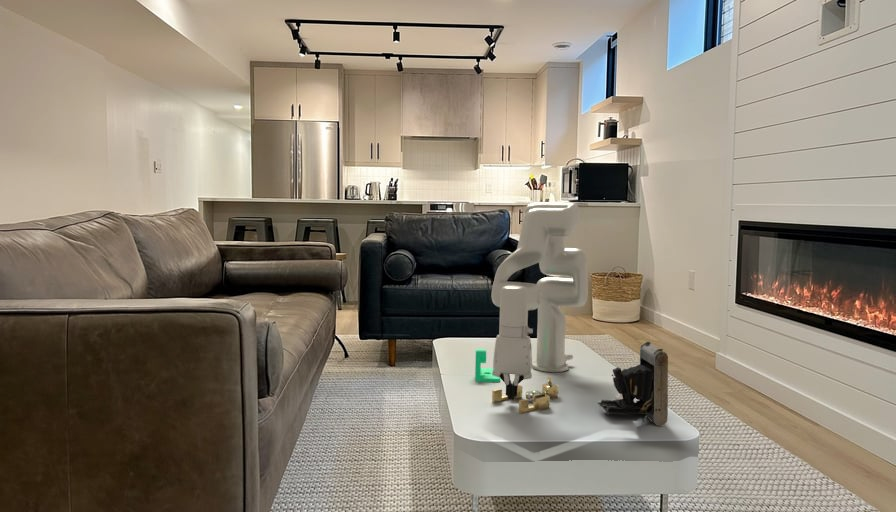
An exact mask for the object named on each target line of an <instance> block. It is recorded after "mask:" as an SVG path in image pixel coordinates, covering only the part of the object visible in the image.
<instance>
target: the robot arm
mask: <svg viewBox="0 0 896 512" xmlns="http://www.w3.org/2000/svg"><path fill="white" fill-rule="evenodd" d="M524 209H525V210H524V217H523V221H522V224H521V228H520V229H521V230H520V234H519V238H518V243H517V247H516V250H514V251H513V252H512V253H510V254H509V255H508V256H507V257H506V258H505V259H504V260H503V261H502V262H501V263H500V264H499V265H498V267H497V270H496V272H495V275H494V278H493V279H494V281H493V284H492V288H491V294H490V295H491V301H492V303H493V305H495V306H496V307H498V308H499V325H498V326H499V327H498V328H499V329H498V330H499V332H498V333H499V334H497V335H496V337H495V342H494V349H493V359H492V360H493V362H492V366H493V367H492V368H493V372H492V375H493V376H496V377H499V378H500V380H502V382H503V383H504V385H505V396H508V399H507V400H508V401H510V400H512V401H514V398H515V396H517V386H518V385H519V384H520V383H521V382H522V381H523V380H531V379H532V377H533V373H532V368H533V370H537V371H540V372H541V371H542V372H548V373H563V372H565V371H567V370H569V366H570V365H569V364H568V363H567V361H570V360H571V361H572V360H573V358H574V355H573V354H572V353H570V354H565V350H566V349H565V346H566V316H565V313H564V312H563V310H562V309H561V308H560V307H561V306H564V307H575V308H577V307H578V308H579V307H580V308H581V307H583V306H585V305H586V304H587V302H588V295H589V284H588V282H589V281H588V279H589V277H588V259H587V258H588V257H587V254H586V252H585V251H584V250H583V249H582V248H576V247H575V248H574V247H565V244H564V243H565V242H564V241H565V240H564V238H565V237H569V236H570V235H571V234H572V233H573V232H574V231H575V230H576V229H577V228H578V226H579V224H580V220H581V210H580V208H579V206H578V205H577V203H574V202H552V201H551V202H548V201H543V202H542V201H540V202H531V203H529V204H527V205H526V207H525V208H524ZM536 264H538V265H539V266H538V267H539V271H540V273H542V274H543V275H547V277H543V278H540V279H539V280H538V281H537V282H536V283H531V282H521V281H508V280H509V278H510V277H511V276H512V275H513V274H515V273H516V272H518V271H520V270H522V269H526V268H529V267H531V266H533V265H536ZM554 276H555V277H554ZM569 277H570V278H569ZM534 310H537V327H536V328H537V329H536V335H537V336H536V360H535V361H532V359H533V358H532V357H533V355H532V341H531V337H530V336H529V335H531V334H533V333H534V331H533V330H534V328H530V327H529V325H528V319H529V318H528V317H529V311H534ZM511 375H514V378H513V381H512V380H511Z"/></svg>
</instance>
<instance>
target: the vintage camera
mask: <svg viewBox="0 0 896 512" xmlns="http://www.w3.org/2000/svg"><path fill="white" fill-rule="evenodd" d="M639 348H640V349H639V364H638V365H635V366H631V367H628V368H624V369H621V367H619V366H618V367H616V368H613V369H612V373H613V374H611V376H612V377H613V378H612V381H613V386H614V387H615V389H616V391H617V392H618V394H622V396H623V399H614V400H613V399H611V400H609V399H601V400H600V402H597V404H598V405H599V406H600V407H601V408H602V409H603V410H604V411H605V412H606V416H607V417H609V415H610V414H613V415H614V414H615V415H616V414H617V415H645V417H646V419H648V420H650V421H651V422H652V423H653V424H655V425H656V426H659V427H663V426H665V425H666V424H667V422H668V420H669V419H668V416H669V415H668V414H669V413H668V410H669V407H668V406H669V405H668V403H669V400H668V399H669V397H668V395H669V392H668V391H669V390H668V389H669V373H668V372H669V356H668V354H667V352H665V351H664V349H663V348H658V347H656V346H655V345H653V344H651V342H650V341H645V342H644V343H643V344H642V345H641V346H640V347H639ZM633 400H634V401H633Z"/></svg>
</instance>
